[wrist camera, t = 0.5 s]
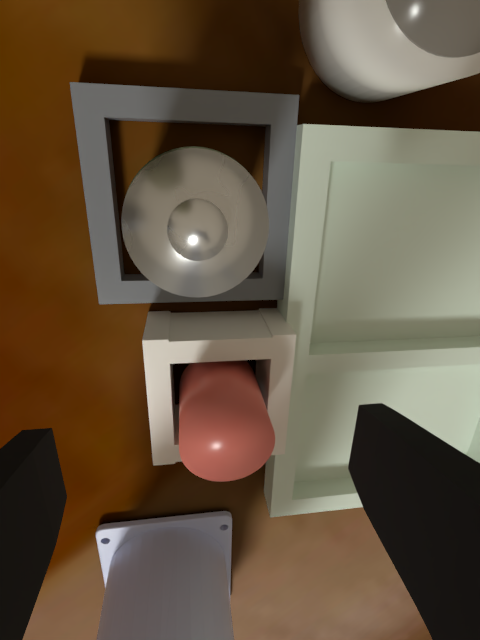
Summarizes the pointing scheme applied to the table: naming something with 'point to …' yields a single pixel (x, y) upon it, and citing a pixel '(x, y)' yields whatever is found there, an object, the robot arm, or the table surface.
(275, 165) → the cradle
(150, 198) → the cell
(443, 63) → the cup
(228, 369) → the button
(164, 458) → the frame
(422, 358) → the trough tray
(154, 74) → the table surface
